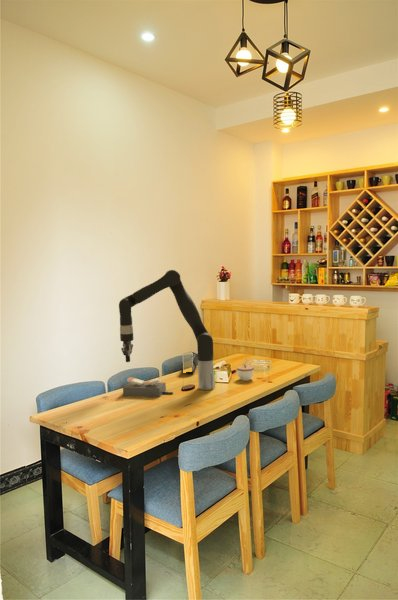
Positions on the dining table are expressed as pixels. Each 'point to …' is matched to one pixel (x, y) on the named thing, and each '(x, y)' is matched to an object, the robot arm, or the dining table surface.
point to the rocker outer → (135, 381)
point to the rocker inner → (152, 381)
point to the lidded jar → (245, 372)
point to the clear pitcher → (194, 361)
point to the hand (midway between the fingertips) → (128, 361)
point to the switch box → (145, 390)
